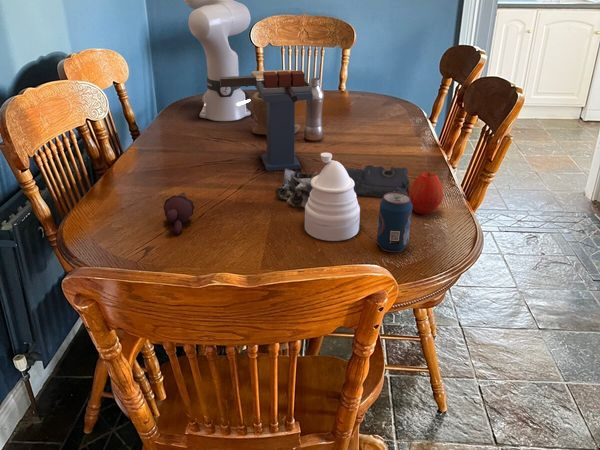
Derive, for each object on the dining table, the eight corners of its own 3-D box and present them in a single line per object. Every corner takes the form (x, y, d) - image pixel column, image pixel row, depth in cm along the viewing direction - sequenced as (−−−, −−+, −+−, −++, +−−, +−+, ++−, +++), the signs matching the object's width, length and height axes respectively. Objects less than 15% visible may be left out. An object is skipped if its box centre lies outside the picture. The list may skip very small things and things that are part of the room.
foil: (329, 176, 153) (320, 165, 139) (321, 215, 153) (312, 208, 138) (287, 169, 156) (275, 157, 141) (279, 208, 155) (266, 200, 140)
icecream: (164, 184, 140) (151, 216, 127) (193, 177, 139) (183, 209, 126) (174, 207, 144) (163, 241, 131) (202, 201, 143) (193, 235, 130)
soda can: (376, 237, 131) (380, 189, 125) (406, 239, 130) (412, 191, 124) (376, 252, 124) (381, 203, 119) (408, 254, 124) (414, 205, 118)
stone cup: (246, 138, 190) (244, 93, 183) (258, 127, 200) (257, 84, 193) (289, 142, 186) (290, 97, 179) (300, 131, 196) (300, 88, 189)
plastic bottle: (323, 136, 192) (325, 76, 182) (322, 143, 186) (324, 81, 177) (304, 135, 192) (305, 76, 183) (302, 142, 186) (303, 81, 177)
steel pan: (257, 84, 157) (256, 77, 157) (302, 82, 160) (303, 75, 159) (268, 104, 140) (268, 96, 139) (320, 101, 143) (320, 94, 142)
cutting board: (251, 74, 167) (251, 71, 166) (295, 73, 169) (295, 69, 169) (256, 83, 158) (256, 79, 158) (302, 81, 161) (302, 77, 160)
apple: (446, 216, 140) (452, 176, 135) (416, 220, 138) (421, 179, 133) (430, 202, 147) (436, 163, 142) (401, 206, 145) (406, 166, 140)
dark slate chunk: (329, 171, 165) (330, 156, 162) (406, 176, 162) (408, 161, 160) (324, 193, 151) (325, 177, 149) (408, 199, 149) (410, 182, 146)
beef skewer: (219, 87, 152) (219, 73, 150) (304, 83, 156) (304, 70, 155) (221, 90, 149) (220, 76, 147) (307, 86, 153) (307, 73, 152)
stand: (253, 150, 179) (251, 73, 168) (293, 148, 182) (294, 72, 170) (265, 181, 158) (263, 95, 147) (310, 177, 161) (312, 93, 150)
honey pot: (296, 234, 131) (297, 161, 123) (315, 211, 142) (316, 142, 133) (350, 245, 127) (354, 170, 119) (365, 220, 138) (370, 150, 129)
